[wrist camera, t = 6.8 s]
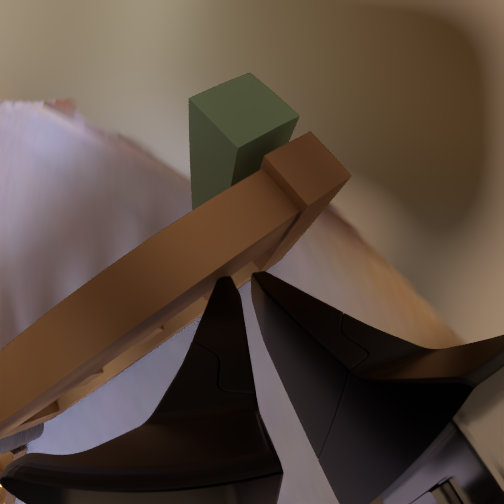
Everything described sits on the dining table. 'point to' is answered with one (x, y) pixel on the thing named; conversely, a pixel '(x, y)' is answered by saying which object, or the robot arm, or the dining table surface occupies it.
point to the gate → (164, 284)
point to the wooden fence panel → (15, 453)
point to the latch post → (234, 134)
